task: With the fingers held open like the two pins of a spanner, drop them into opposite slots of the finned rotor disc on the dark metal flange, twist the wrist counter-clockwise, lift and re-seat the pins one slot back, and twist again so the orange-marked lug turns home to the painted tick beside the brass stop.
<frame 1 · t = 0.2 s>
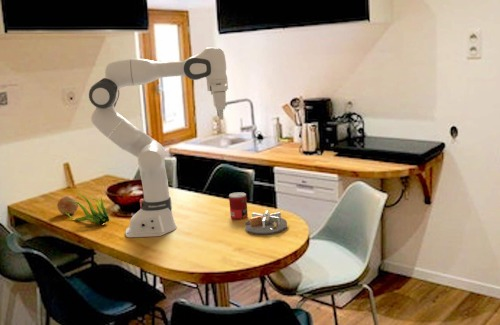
hand: (220, 118, 227), 47 cm above the table, fingers open, 8 cm apart
decorative plant: (84, 222, 254), on the table
finned rotor disc: (265, 218, 226), point 4 cm above the table, hinge at 0.0°
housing: (266, 227, 226), on the table
onion: (69, 214, 267), on the table
canned food: (239, 217, 243), on the table
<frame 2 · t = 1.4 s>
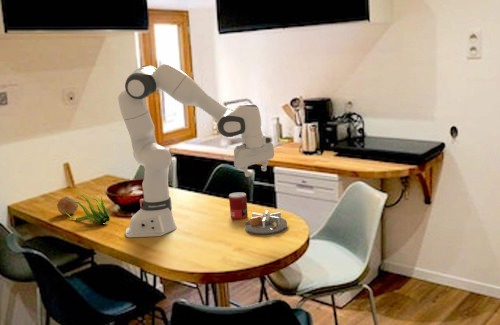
hand: (256, 173, 223), 24 cm above the table, fingers open, 8 cm apart
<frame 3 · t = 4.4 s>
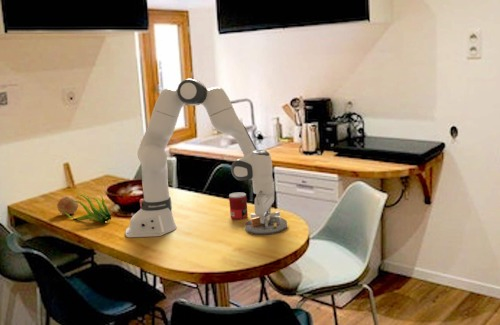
hand: (265, 219, 226), 4 cm above the table
finned rotor disc: (265, 218, 226), point 4 cm above the table, hinge at 9.6°, touching gripper
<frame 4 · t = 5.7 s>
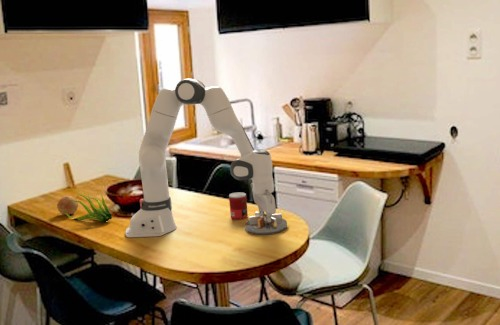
hand: (265, 218, 226), 4 cm above the table
finned rotor disc: (265, 218, 226), point 4 cm above the table, hinge at 43.3°, touching gripper
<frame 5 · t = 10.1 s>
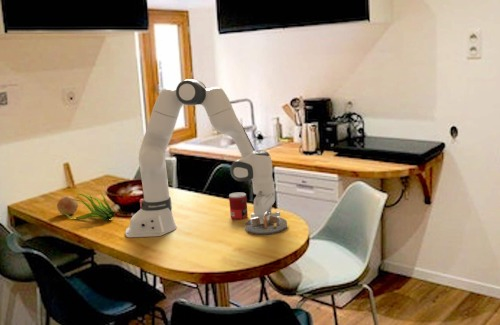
hand: (265, 219, 226), 4 cm above the table
decorative plant: (85, 219, 257), on the table, touching onion
finned rotor disc: (265, 218, 226), point 4 cm above the table, hinge at 66.5°, touching gripper
onion: (68, 215, 267), on the table, touching decorative plant
everything else where it was.
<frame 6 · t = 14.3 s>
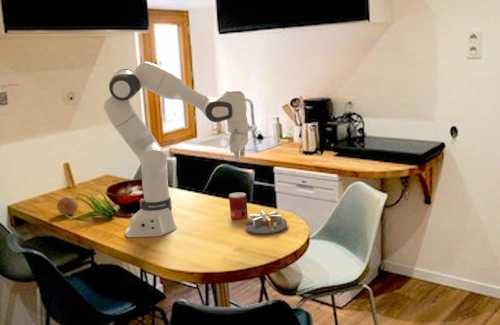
hand: (240, 158, 230), 29 cm above the table, fingers open, 8 cm apart
decorative plant: (85, 219, 259), on the table
finned rotor disc: (265, 218, 226), point 4 cm above the table, hinge at 81.3°
onion: (68, 215, 267), on the table
everything else where it was.
at the end: finned rotor disc at +81° (first picture: +0°) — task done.
